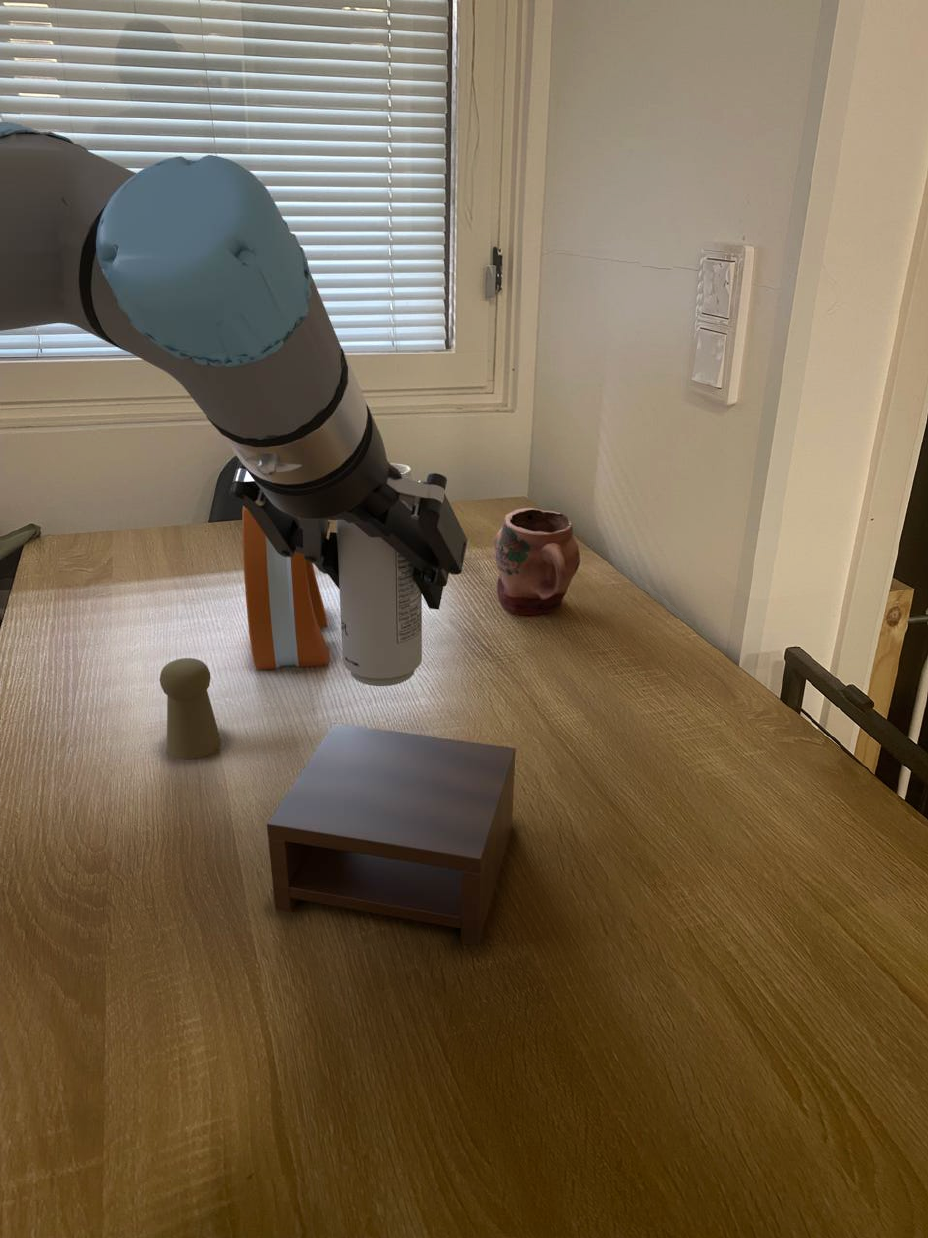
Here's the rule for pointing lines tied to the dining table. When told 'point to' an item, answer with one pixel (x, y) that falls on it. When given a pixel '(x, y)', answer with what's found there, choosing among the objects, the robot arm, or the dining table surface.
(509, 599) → the pink ceramic mug
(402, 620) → the energy drink can
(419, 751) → the shelf
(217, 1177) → the dining table surface
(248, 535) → the alarm clock
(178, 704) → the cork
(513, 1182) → the dining table surface
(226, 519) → the dining table surface
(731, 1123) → the dining table surface
